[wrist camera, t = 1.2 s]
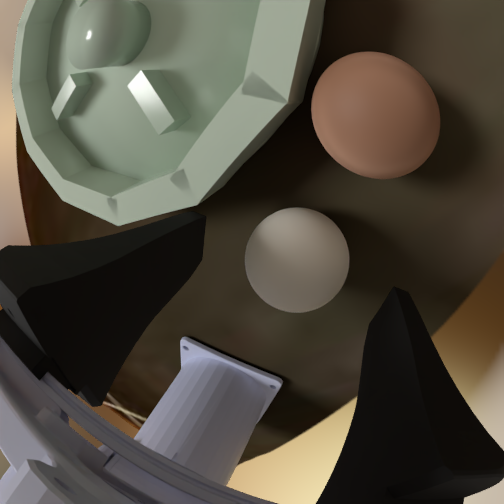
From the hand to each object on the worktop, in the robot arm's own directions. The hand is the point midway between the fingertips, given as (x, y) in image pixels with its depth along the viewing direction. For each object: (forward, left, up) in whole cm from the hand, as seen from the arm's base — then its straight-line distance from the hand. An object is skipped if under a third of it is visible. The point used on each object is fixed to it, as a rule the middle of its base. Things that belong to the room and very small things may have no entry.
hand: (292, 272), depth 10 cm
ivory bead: (0, 0, -3) cm, 3 cm away
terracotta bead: (+6, -1, -3) cm, 7 cm away
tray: (+8, +11, -3) cm, 13 cm away
